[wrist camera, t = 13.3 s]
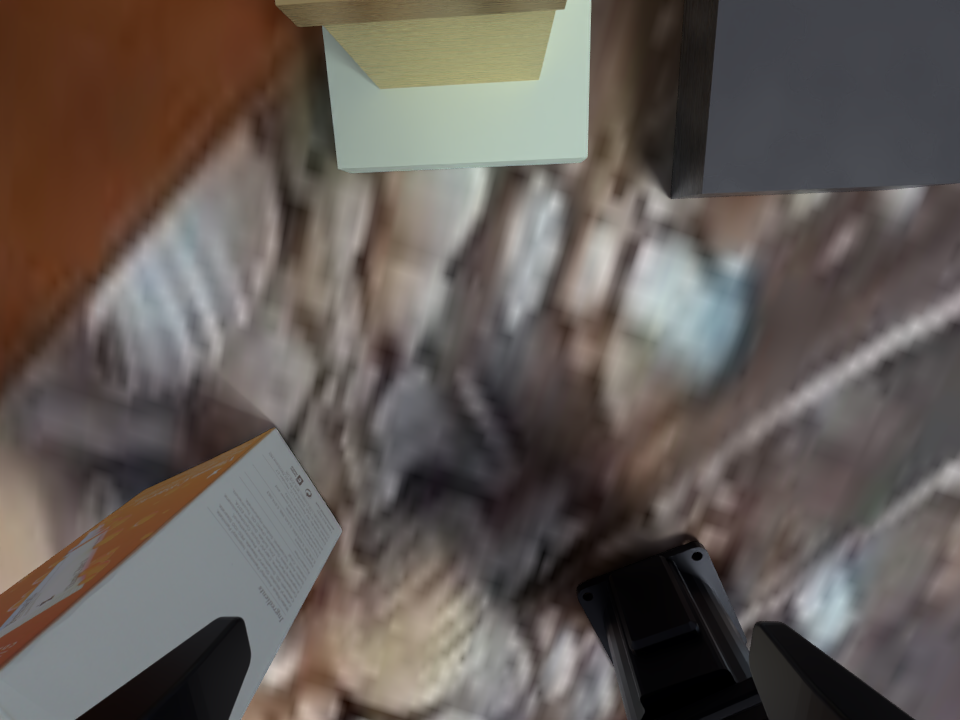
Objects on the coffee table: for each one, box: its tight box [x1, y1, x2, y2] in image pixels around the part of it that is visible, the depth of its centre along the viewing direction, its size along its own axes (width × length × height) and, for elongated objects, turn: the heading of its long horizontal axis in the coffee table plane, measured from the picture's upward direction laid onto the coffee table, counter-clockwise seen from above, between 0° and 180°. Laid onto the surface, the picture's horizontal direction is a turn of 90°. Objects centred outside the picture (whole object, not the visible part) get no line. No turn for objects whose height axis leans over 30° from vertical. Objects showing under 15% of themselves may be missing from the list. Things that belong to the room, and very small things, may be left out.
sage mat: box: [322, 0, 591, 173], centre depth 16 cm, size 9×9×2 cm
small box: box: [0, 428, 342, 720], centre depth 17 cm, size 8×6×13 cm
